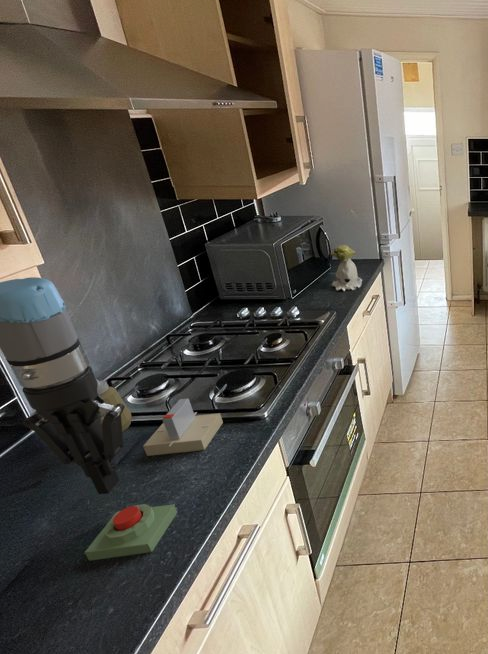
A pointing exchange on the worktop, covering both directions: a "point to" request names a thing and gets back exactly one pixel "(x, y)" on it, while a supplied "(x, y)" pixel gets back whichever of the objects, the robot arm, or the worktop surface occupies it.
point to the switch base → (185, 436)
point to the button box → (132, 534)
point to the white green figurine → (346, 269)
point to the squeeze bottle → (113, 402)
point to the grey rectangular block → (179, 419)
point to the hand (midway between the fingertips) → (109, 487)
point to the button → (127, 518)
